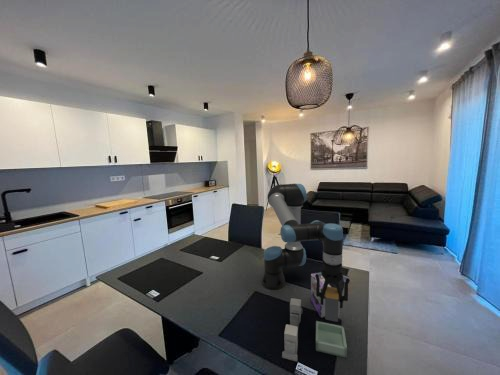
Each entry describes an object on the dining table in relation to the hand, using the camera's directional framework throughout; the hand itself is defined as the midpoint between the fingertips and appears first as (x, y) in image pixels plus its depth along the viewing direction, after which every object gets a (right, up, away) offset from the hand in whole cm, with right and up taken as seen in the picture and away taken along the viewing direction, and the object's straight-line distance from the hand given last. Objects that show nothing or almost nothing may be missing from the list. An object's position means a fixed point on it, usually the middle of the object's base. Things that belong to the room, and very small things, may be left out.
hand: (331, 312), depth 90 cm
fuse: (0, -2, 0) cm, 2 cm away
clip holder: (-14, -14, +8) cm, 22 cm away
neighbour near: (-17, -15, 0) cm, 23 cm away
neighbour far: (-12, -13, +17) cm, 24 cm away
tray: (0, -14, +2) cm, 15 cm away
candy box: (+3, -12, +23) cm, 26 cm away
